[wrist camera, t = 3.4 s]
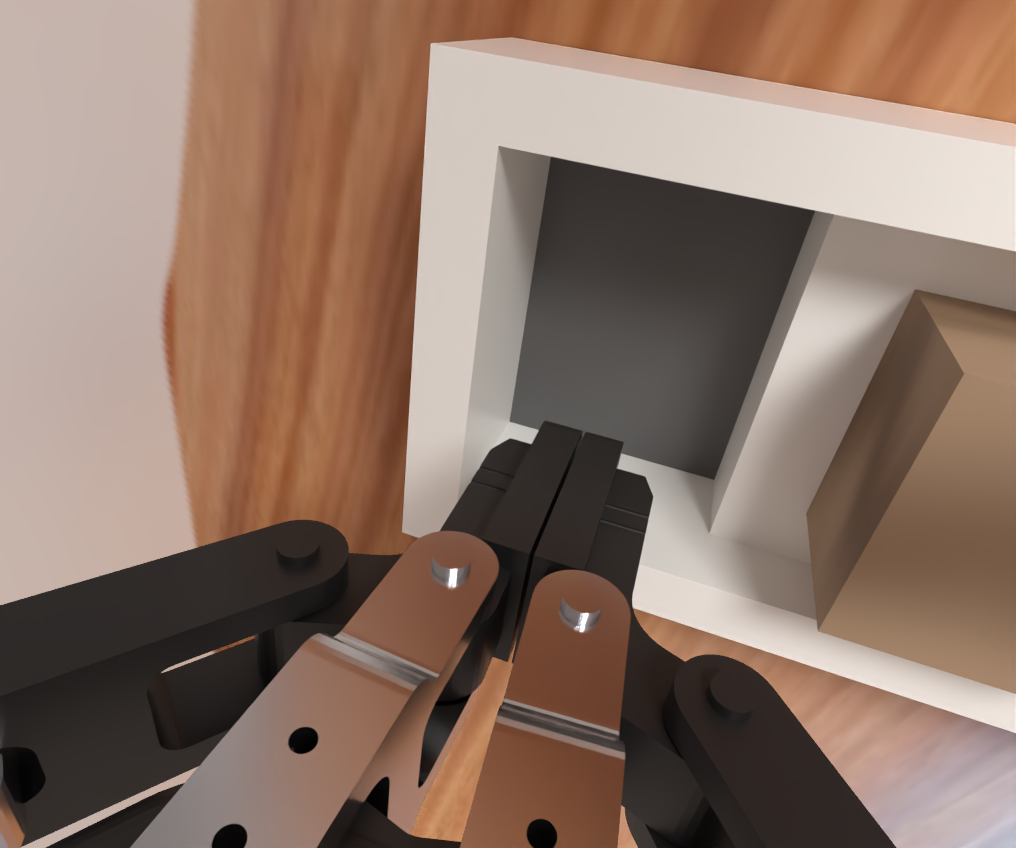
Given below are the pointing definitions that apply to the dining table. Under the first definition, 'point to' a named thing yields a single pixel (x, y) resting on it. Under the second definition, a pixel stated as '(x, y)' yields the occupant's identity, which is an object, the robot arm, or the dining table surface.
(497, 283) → the tray
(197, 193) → the dining table surface
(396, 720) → the robot arm
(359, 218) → the dining table surface
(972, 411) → the walnut block
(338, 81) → the dining table surface
